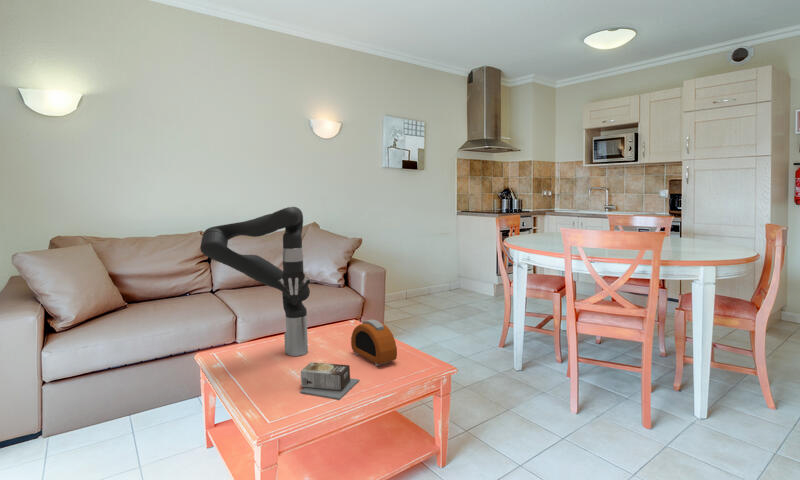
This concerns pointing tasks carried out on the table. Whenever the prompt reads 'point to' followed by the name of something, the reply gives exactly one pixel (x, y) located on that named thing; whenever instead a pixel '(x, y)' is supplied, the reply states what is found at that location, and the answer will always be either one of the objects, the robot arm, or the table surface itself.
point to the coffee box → (325, 376)
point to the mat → (328, 392)
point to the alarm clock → (374, 342)
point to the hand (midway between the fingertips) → (294, 304)
